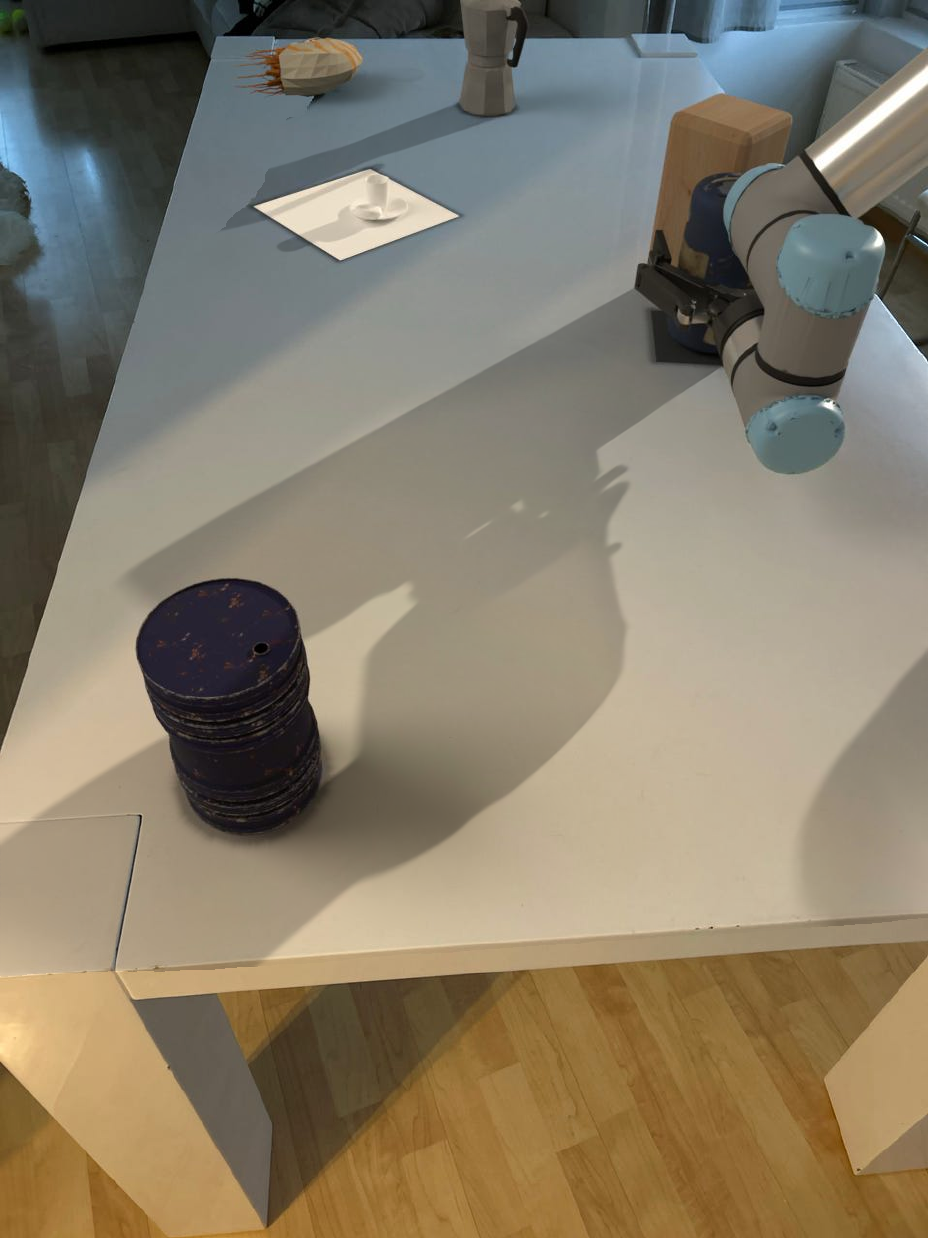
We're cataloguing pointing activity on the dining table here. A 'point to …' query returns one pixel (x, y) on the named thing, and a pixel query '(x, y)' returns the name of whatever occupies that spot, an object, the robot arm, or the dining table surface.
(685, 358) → the mat
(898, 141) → the robot arm
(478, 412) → the dining table surface
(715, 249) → the canister
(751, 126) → the wooden block
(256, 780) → the navy cylinder
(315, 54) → the nautilus shell
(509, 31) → the coffeepot
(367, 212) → the teacup and saucer
